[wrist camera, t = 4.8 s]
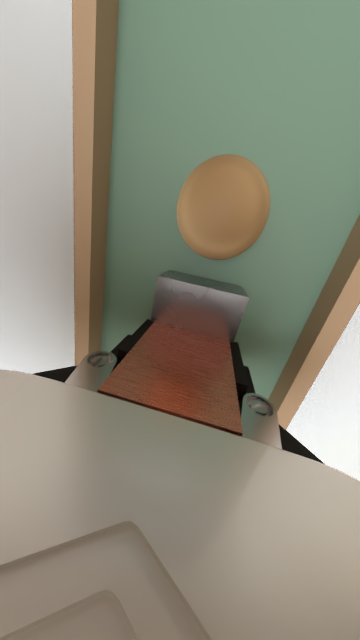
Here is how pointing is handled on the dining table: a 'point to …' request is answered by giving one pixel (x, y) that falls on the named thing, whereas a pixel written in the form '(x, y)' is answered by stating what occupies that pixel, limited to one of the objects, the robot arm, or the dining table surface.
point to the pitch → (209, 141)
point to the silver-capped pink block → (186, 353)
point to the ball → (223, 206)
